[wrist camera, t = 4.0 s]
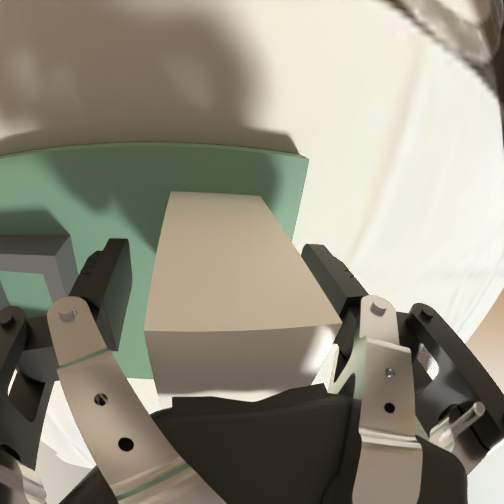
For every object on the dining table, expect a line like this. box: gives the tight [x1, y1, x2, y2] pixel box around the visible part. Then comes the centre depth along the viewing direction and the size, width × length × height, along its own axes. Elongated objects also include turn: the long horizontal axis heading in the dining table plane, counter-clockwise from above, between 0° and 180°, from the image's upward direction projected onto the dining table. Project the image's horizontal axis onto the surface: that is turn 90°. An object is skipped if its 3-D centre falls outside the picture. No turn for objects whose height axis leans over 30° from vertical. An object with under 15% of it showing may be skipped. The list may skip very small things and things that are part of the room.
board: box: [0, 142, 309, 379], centre depth 13 cm, size 16×20×3 cm
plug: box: [144, 191, 343, 409], centre depth 9 cm, size 5×4×8 cm
